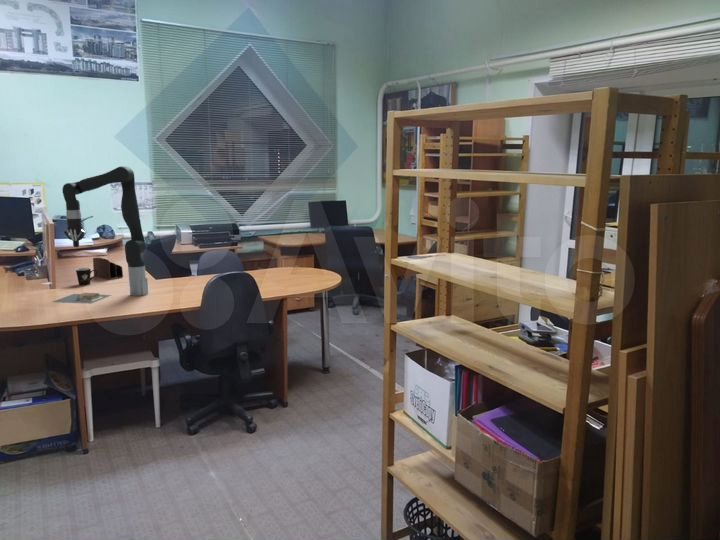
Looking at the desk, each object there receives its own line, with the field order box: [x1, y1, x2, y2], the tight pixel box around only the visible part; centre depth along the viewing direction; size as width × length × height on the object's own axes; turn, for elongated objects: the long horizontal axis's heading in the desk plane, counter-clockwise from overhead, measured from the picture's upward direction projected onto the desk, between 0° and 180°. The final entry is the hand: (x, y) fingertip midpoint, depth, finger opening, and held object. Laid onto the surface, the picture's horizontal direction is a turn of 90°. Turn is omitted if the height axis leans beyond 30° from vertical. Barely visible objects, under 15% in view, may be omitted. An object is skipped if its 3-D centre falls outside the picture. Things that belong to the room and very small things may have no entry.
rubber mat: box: [51, 293, 112, 304], centre depth 307 cm, size 24×20×1 cm
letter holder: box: [92, 257, 124, 281], centre depth 371 cm, size 10×20×14 cm, turn 56°
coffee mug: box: [75, 267, 97, 286], centre depth 348 cm, size 12×9×10 cm
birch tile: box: [77, 292, 100, 300], centre depth 306 cm, size 2×7×9 cm
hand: (76, 247), depth 316 cm, fingers closed
